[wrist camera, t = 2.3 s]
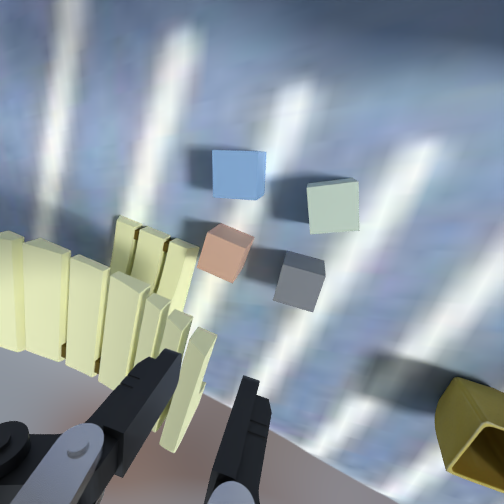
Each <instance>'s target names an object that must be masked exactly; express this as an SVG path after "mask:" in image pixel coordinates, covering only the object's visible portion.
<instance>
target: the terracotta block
mask: <svg viewBox="0 0 504 504" xmlns="http://www.w3.org/2000/svg"><path fill="white" fill-rule="evenodd" d="M253 240H254V237H253V236H250V235H248V234H246V233H243V232H241V231H239V230H236V229H234V228H231V227H229V226H227V225H224V224H222V223H220V224H219V225H217V226H216V227H214V228H213V229H211V230H210V231H208V232H207V235H206V238H205V241H204V245H203V248H202V251H201V255H200V258H199V261H198V265H197V268H199V269H201V270H204V271H206V272H208V273H210V274H213V275H215V276H217V277H219V278H222V279H224V280H226V281H229V282H231V283H233V282H234V281H235V279H236V278H237V276H238V275H239V273H240V272H241V270H242V269H243V266H244V263H245V261H246V258H247V256H248V253H249V250H250V248H251V245H252V242H253Z"/></svg>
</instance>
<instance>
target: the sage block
mask: <svg viewBox="0 0 504 504" xmlns="http://www.w3.org/2000/svg"><path fill="white" fill-rule="evenodd" d="M307 199H308V212H309V225H310V234H321V233H334V232H347V231H359V186H358V181H357V180H355V179H353V178H347V179H339V180H331V181H323V182H315V183H308V185H307Z"/></svg>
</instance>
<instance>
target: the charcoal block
mask: <svg viewBox="0 0 504 504" xmlns="http://www.w3.org/2000/svg"><path fill="white" fill-rule="evenodd" d="M324 279H325V264H324V261H323V260H320V259H316V258H312V257H309V256H305V255H301V254H298V253H294V252H290V251H287V252H286V256H285V259H284V262H283V265H282V269H281V273H280V276H279V280H278V284H277V287H276V291H275V295H274V298H273V301H277V302H280V303H283V304H287V305H290V306H293V307H297V308H300V309H303V310H307V311H310V312H313V311H314V308H315V305H316V302H317V299H318V296H319V294H320V291H321V288H322V285H323V282H324Z"/></svg>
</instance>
